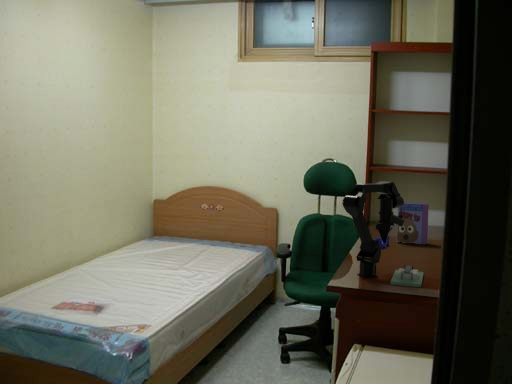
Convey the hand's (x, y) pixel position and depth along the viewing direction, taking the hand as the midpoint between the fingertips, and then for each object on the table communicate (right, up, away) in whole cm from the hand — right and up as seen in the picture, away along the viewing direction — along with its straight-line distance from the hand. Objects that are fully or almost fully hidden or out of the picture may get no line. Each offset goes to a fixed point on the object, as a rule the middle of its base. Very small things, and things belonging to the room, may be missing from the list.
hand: (384, 243), depth 242 cm
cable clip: (+15, -9, +67) cm, 69 cm away
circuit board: (+7, -14, -13) cm, 20 cm away
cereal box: (+36, -8, +81) cm, 89 cm away
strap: (+7, -10, -13) cm, 18 cm away
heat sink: (+7, -13, -13) cm, 19 cm away
